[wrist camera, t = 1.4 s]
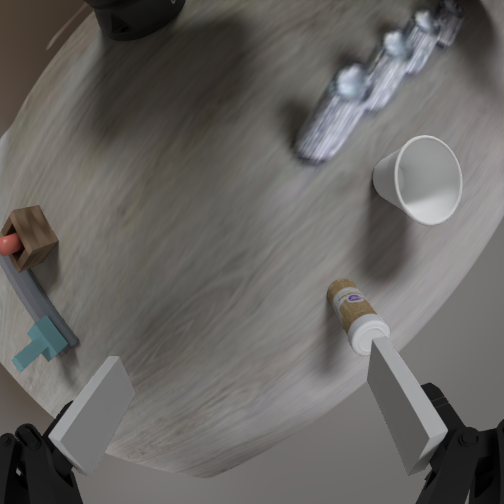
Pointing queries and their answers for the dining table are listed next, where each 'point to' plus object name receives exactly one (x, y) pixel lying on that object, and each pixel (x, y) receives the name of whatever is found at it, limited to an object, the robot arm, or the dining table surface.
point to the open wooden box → (29, 237)
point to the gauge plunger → (10, 244)
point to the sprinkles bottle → (356, 316)
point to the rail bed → (36, 300)
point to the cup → (421, 180)
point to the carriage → (40, 343)
